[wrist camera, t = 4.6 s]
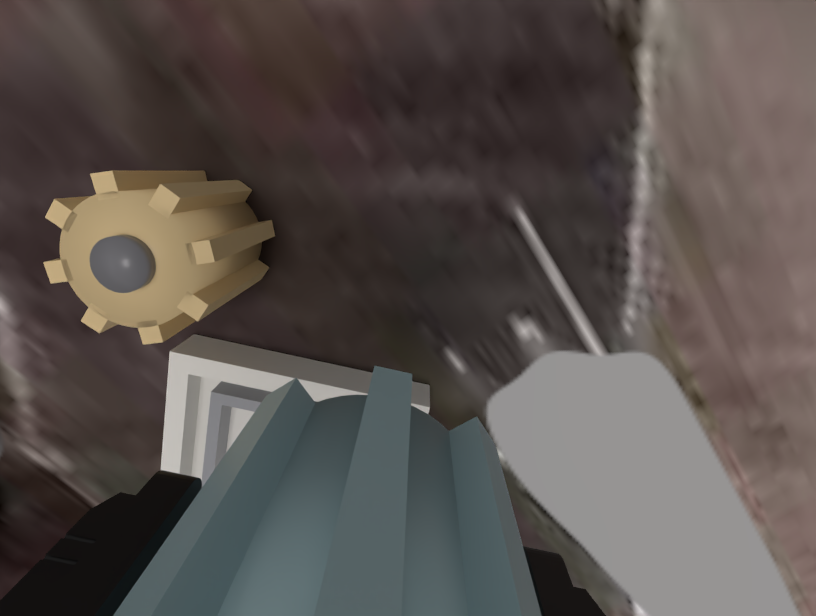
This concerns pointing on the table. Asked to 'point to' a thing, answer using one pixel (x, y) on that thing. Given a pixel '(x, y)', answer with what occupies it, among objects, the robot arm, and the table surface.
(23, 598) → the robot arm
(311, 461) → the teal gear
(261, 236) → the amber gear
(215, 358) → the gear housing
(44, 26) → the table surface
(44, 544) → the table surface
